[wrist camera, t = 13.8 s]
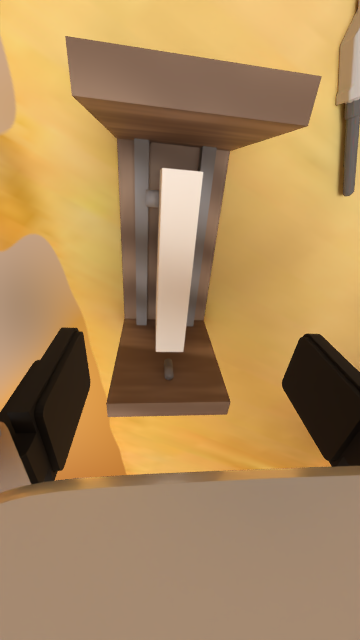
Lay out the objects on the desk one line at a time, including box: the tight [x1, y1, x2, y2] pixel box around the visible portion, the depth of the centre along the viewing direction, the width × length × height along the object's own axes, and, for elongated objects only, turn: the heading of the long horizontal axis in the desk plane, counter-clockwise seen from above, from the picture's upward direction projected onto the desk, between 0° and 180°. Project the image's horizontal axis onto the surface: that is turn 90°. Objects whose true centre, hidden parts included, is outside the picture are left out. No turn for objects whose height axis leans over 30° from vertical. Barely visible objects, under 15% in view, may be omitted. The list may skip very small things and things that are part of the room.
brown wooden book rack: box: [65, 36, 322, 417], centre depth 21 cm, size 21×10×14 cm, turn 175°
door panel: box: [146, 168, 203, 352], centre depth 22 cm, size 14×4×9 cm, turn 175°
